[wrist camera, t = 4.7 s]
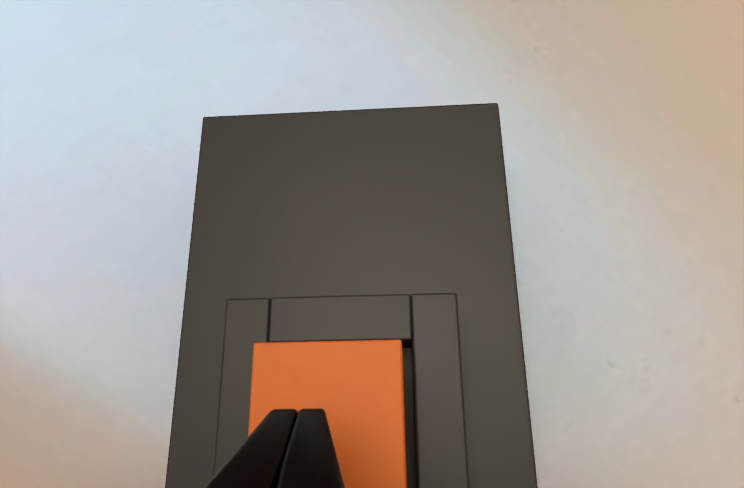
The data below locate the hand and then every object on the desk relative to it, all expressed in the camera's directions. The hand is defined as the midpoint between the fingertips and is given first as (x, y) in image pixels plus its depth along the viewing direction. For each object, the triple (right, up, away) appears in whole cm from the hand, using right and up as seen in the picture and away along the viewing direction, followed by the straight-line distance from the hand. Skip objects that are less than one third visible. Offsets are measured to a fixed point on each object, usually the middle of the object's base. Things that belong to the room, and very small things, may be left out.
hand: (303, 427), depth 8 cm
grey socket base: (+1, 0, +11) cm, 11 cm away
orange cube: (0, -1, +5) cm, 5 cm away
